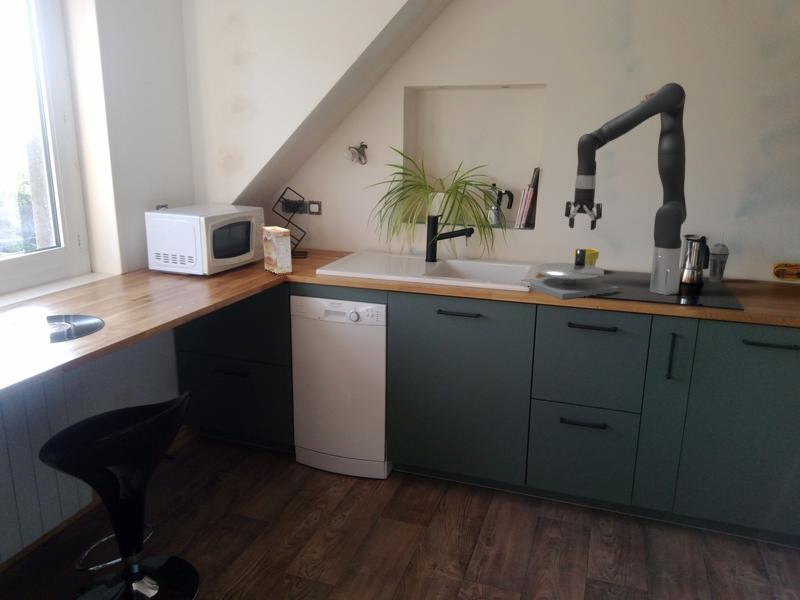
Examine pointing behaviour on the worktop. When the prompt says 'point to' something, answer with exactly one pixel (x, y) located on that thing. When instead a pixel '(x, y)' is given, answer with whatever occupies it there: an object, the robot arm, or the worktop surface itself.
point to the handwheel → (571, 269)
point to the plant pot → (590, 256)
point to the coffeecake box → (277, 249)
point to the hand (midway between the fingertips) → (581, 228)
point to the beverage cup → (718, 261)
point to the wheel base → (570, 287)
